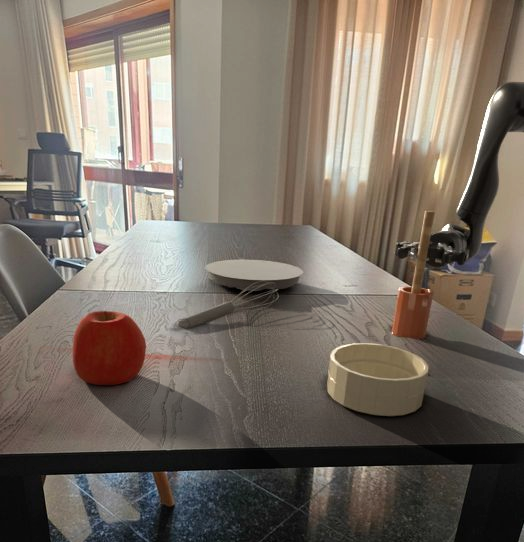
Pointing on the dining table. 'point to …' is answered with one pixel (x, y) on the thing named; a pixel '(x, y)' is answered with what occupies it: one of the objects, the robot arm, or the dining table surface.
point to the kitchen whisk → (218, 311)
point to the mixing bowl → (377, 379)
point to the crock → (412, 313)
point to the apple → (108, 348)
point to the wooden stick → (422, 251)
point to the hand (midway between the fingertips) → (421, 256)
